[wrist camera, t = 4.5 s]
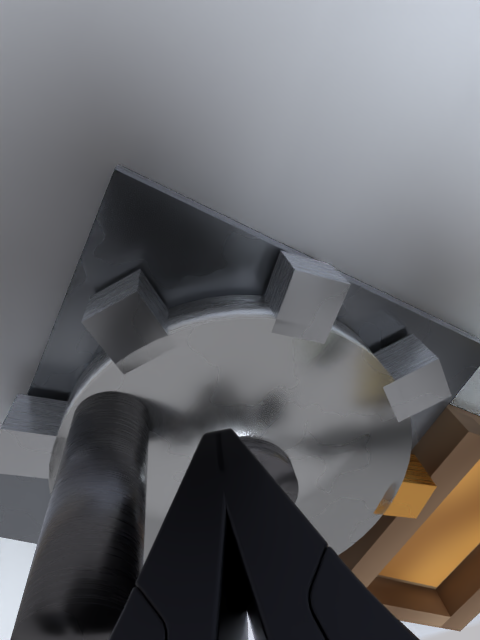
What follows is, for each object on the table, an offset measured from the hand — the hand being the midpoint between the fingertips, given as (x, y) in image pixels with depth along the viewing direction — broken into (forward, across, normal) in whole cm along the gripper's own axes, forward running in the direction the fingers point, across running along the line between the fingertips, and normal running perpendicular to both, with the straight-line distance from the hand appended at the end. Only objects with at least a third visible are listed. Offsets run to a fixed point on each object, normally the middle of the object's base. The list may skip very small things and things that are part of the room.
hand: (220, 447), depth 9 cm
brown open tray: (+5, -8, +10) cm, 14 cm away
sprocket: (+5, 0, +3) cm, 6 cm away
